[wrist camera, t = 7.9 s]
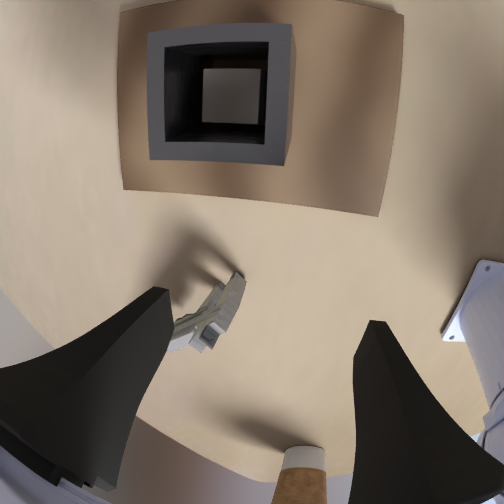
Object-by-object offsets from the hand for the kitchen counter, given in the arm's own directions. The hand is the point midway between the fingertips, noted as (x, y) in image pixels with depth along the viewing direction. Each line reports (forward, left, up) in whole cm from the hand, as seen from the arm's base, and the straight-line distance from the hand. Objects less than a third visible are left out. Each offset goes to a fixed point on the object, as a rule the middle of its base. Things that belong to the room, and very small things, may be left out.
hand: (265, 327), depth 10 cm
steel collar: (+3, -7, -9) cm, 12 cm away
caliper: (+10, +12, -10) cm, 18 cm away
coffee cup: (-7, +36, -10) cm, 38 cm away
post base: (+3, -7, -10) cm, 13 cm away
